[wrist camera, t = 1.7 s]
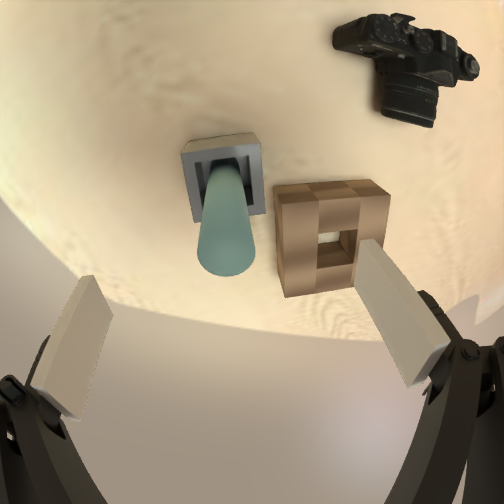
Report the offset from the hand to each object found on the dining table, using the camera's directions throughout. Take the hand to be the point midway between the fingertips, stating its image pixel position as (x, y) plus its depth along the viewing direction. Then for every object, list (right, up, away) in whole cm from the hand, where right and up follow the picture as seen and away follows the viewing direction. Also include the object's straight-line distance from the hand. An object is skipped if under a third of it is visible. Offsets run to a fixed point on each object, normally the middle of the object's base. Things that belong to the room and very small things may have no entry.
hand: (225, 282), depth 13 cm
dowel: (-2, +10, +15) cm, 18 cm away
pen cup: (-2, +10, +15) cm, 19 cm away
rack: (+10, +4, +21) cm, 23 cm away
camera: (+16, +22, +11) cm, 29 cm away
